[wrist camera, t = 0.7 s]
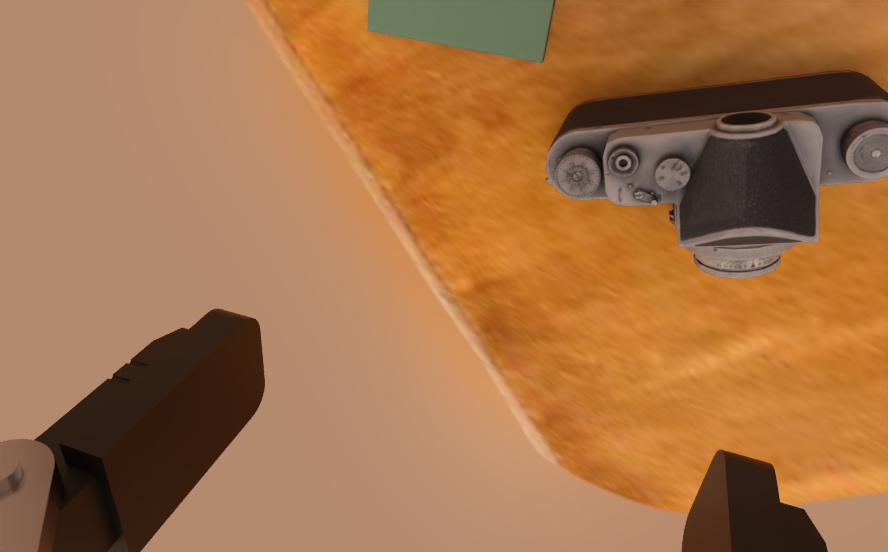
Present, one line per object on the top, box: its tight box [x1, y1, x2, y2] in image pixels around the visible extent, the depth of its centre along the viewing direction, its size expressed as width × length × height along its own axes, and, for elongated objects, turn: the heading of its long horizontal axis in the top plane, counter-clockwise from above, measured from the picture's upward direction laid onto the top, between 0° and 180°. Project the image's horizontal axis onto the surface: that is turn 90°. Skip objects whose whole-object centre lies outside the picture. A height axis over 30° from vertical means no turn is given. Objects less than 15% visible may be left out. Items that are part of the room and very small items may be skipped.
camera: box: [546, 71, 888, 278], centre depth 30 cm, size 16×8×10 cm, turn 100°
